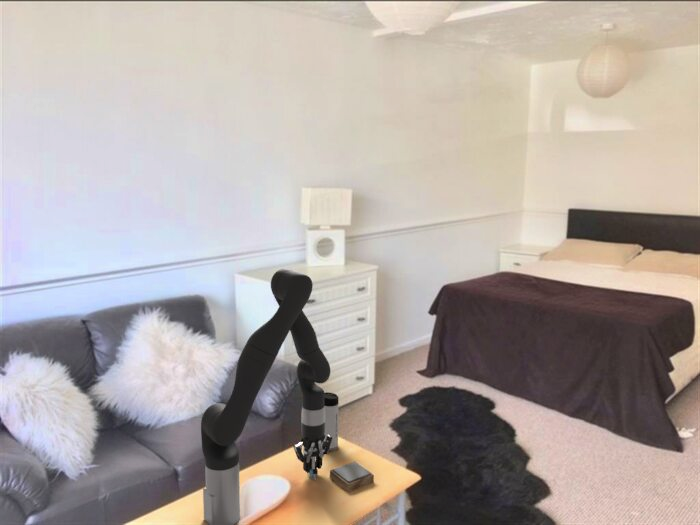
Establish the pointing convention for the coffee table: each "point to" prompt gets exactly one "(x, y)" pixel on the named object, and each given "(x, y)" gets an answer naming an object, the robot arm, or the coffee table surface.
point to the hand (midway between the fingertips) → (312, 469)
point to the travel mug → (331, 418)
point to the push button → (313, 464)
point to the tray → (351, 476)
